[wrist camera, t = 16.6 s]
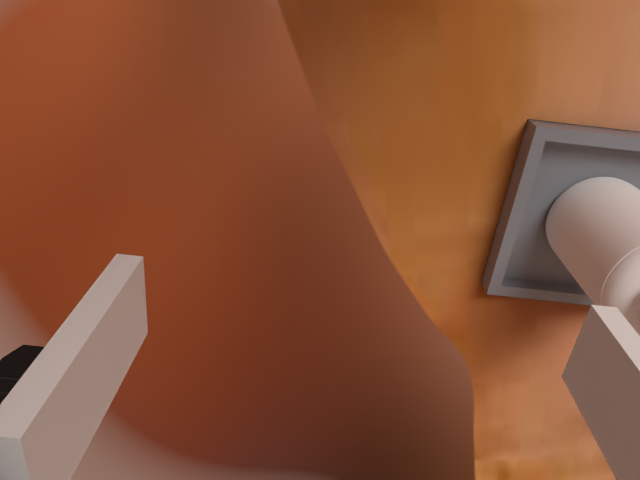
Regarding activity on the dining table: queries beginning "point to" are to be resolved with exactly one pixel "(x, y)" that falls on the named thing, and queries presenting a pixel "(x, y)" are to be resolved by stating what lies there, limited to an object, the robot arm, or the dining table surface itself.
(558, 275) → the tray
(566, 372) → the robot arm
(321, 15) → the dining table surface
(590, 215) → the pill bottle
